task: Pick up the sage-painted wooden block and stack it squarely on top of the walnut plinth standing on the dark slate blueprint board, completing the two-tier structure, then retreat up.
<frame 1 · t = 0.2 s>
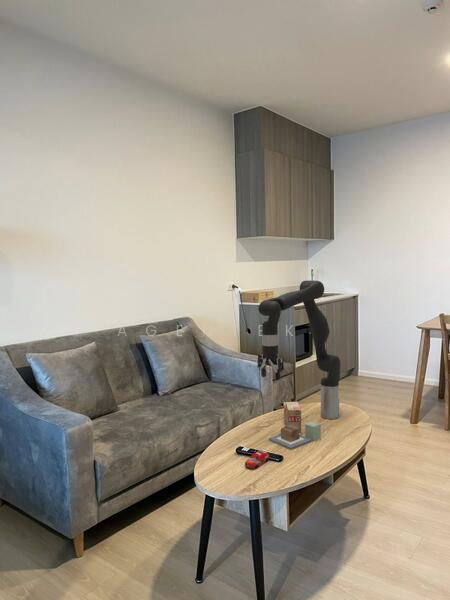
hand: (270, 378, 203), 29 cm above the table, fingers open, 8 cm apart
race car: (257, 464, 179), on the table
stack of blocks: (291, 426, 221), on the table, touching blueprint board
blueprint board: (290, 440, 201), on the table
sage block: (312, 438, 203), on the table
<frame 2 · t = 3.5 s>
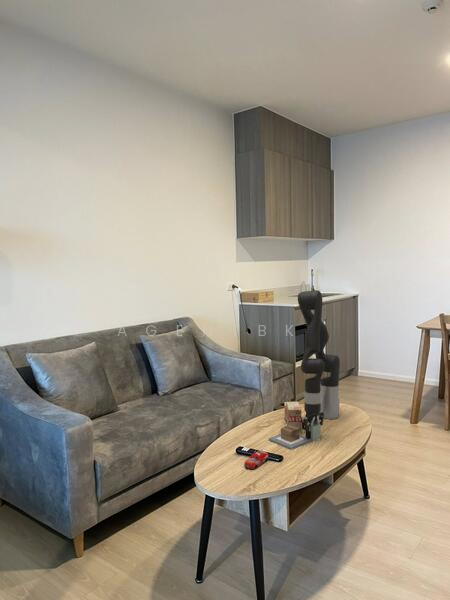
hand: (312, 436, 203), 1 cm above the table, fingers open, 5 cm apart
sage block: (312, 438, 203), on the table, touching gripper
everything else where it was.
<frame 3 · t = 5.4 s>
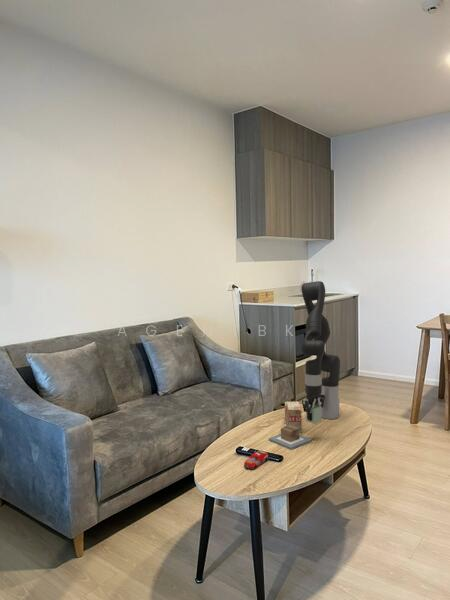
hand: (313, 418, 203), 10 cm above the table, fingers closed on sage block, 5 cm apart
sage block: (313, 420, 203), point 8 cm above the table, touching gripper
everything else where it was.
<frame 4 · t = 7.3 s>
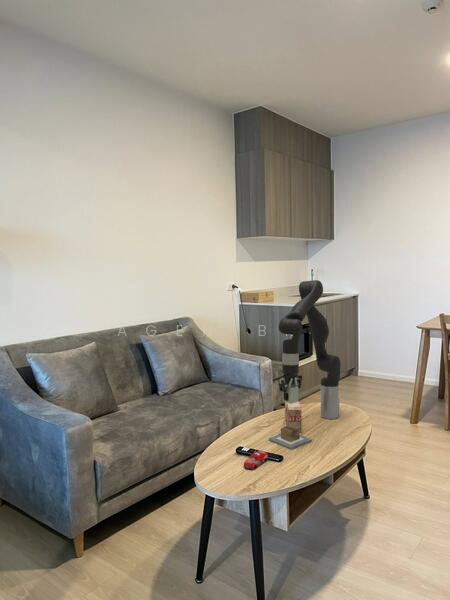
hand: (290, 399, 199), 20 cm above the table, fingers closed on sage block, 5 cm apart
sage block: (290, 401, 200), point 19 cm above the table, touching gripper
everything else where it was.
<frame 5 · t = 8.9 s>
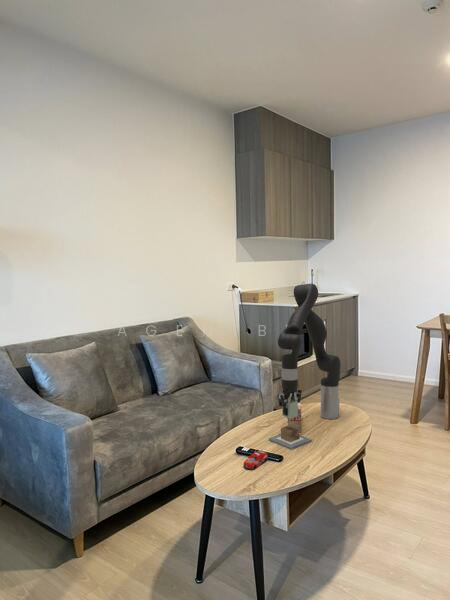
hand: (289, 413, 200), 13 cm above the table, fingers closed on sage block, 5 cm apart
stack of blocks: (294, 425, 221), on the table
sage block: (290, 416, 200), point 12 cm above the table, touching gripper
everything else where it was.
when the fingers open (8 cm above the table, at t = 10.8 s): sage block drops 1 cm, resting on blueprint board.
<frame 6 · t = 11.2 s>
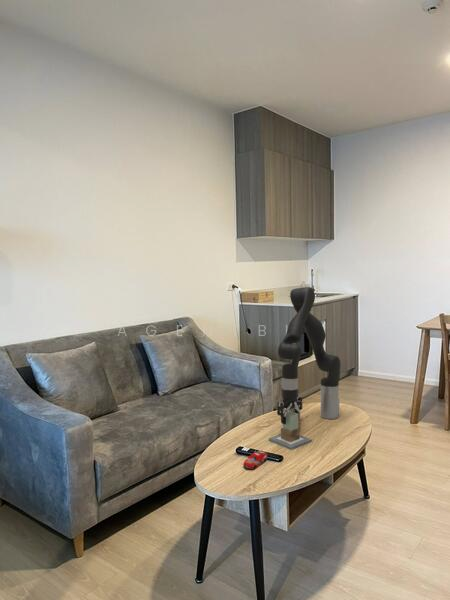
hand: (290, 421, 200), 9 cm above the table, fingers open, 8 cm apart
sage block: (290, 428, 201), point 6 cm above the table, touching blueprint board
everything else where it was.
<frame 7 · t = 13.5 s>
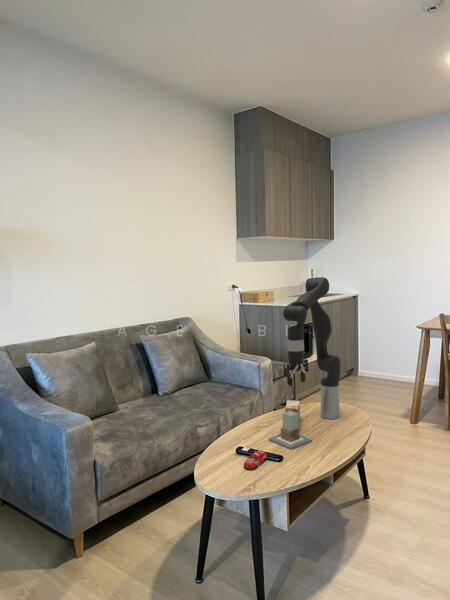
hand: (296, 383, 201), 26 cm above the table, fingers open, 8 cm apart
nothing on the table moved.
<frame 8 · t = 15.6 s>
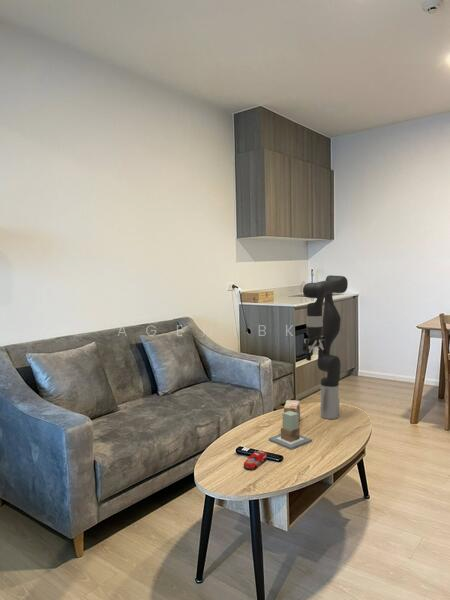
hand: (314, 359, 207), 36 cm above the table, fingers open, 8 cm apart
at the end: sage block 0.2 cm off-centre on the blueprint board, point 6.0 cm above the blueprint board's base; sage block tilted 0°; the gripper is holding nothing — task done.
